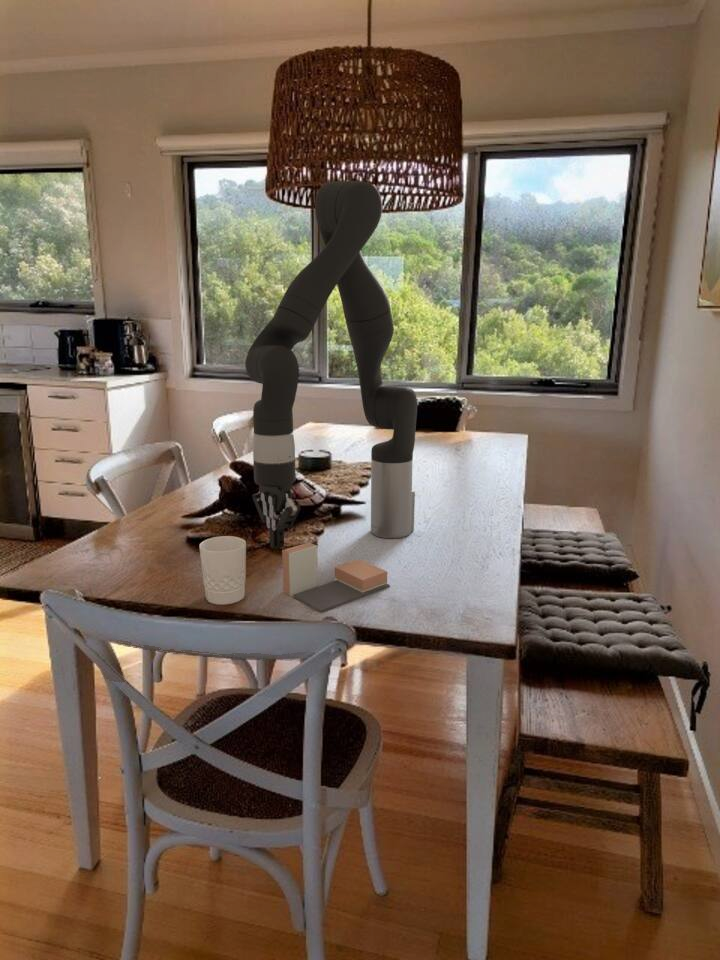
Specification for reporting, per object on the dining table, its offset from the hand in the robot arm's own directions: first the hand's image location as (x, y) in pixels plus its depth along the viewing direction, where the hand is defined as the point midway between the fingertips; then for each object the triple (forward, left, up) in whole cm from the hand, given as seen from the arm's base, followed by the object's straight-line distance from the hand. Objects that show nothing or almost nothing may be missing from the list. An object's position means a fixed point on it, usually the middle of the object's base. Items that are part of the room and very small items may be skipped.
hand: (277, 547), depth 120 cm
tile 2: (-10, +8, -4) cm, 14 cm away
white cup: (+12, +1, -6) cm, 14 cm away
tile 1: (0, +7, -6) cm, 10 cm away
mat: (-5, +13, -6) cm, 15 cm away
